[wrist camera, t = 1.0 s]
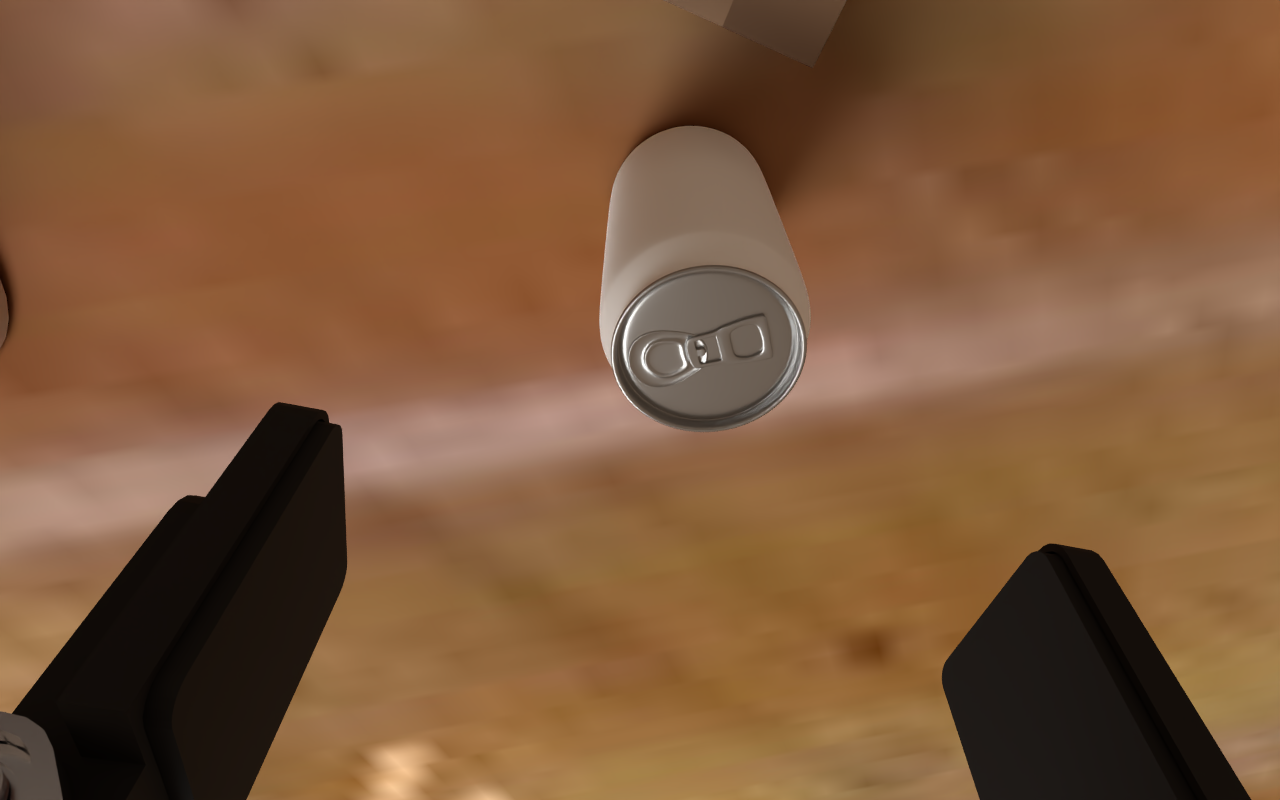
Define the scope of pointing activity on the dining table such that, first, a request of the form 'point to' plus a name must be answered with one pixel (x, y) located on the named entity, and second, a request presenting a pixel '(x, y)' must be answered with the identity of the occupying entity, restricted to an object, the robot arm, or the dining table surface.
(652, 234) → the can
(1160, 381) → the dining table surface
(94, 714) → the robot arm
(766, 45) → the socket block
